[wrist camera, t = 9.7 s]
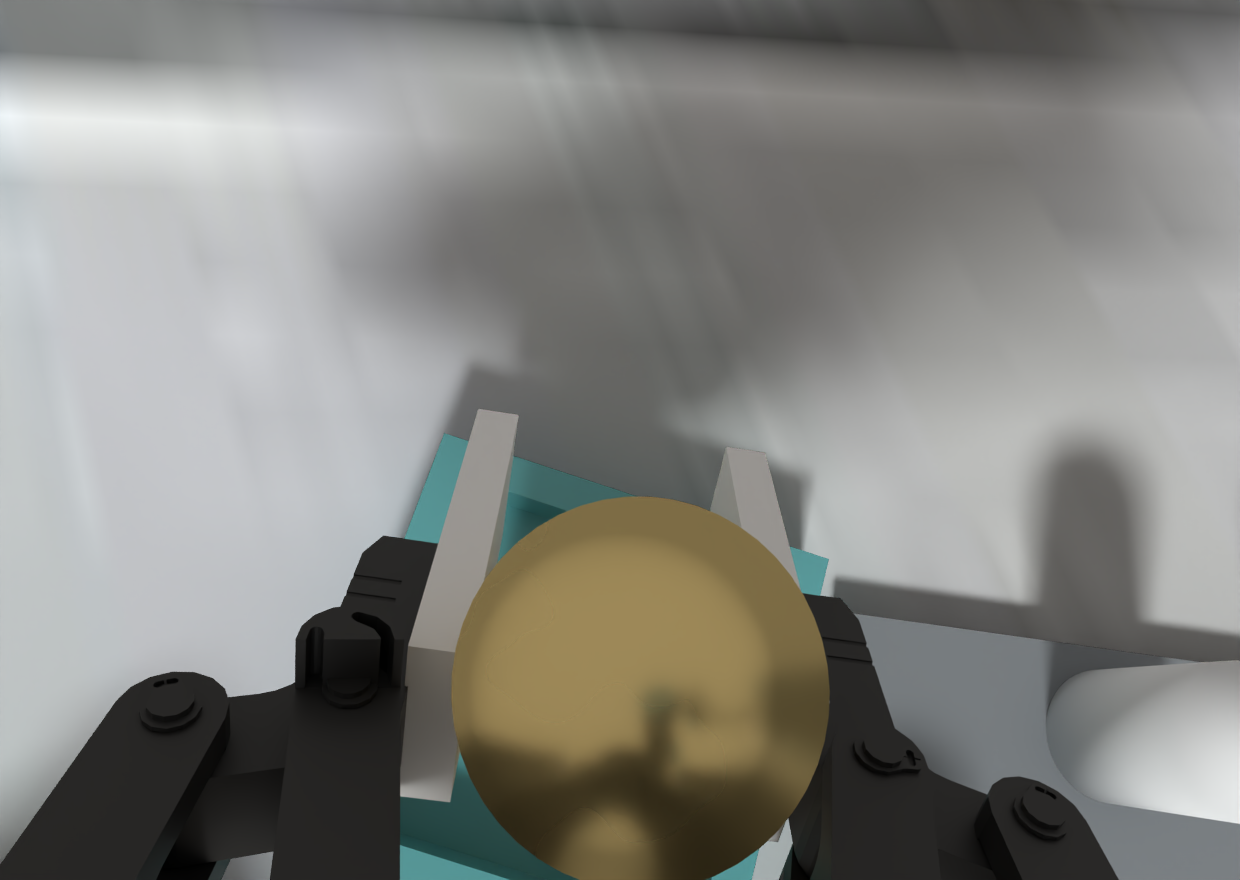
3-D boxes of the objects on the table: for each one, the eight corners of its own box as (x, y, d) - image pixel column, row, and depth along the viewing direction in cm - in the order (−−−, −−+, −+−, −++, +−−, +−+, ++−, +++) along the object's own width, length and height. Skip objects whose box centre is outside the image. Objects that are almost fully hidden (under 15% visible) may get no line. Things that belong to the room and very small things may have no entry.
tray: (801, 572, 23) (828, 559, 21) (702, 966, 21) (724, 994, 19) (449, 457, 23) (444, 433, 21) (305, 841, 21) (283, 855, 19)
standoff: (694, 635, 20) (865, 561, 11) (640, 830, 19) (778, 943, 9) (514, 576, 20) (524, 449, 11) (447, 768, 19) (392, 819, 9)
